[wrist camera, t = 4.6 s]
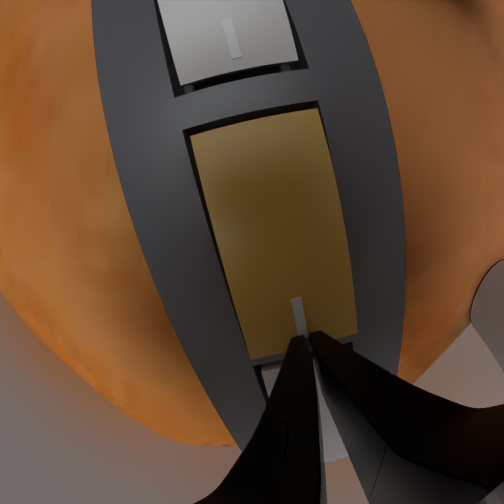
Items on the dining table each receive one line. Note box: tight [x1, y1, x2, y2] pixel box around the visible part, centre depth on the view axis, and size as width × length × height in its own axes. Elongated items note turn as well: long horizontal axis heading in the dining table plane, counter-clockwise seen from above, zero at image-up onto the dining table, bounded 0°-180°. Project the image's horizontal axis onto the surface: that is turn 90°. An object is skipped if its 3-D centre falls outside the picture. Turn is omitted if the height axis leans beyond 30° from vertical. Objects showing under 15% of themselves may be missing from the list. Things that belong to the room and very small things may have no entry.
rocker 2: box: [190, 108, 358, 359], centre depth 9 cm, size 4×7×2 cm, turn 14°
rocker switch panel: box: [91, 0, 406, 452], centre depth 11 cm, size 9×28×5 cm, turn 14°
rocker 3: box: [261, 360, 349, 463], centre depth 12 cm, size 4×7×2 cm, turn 14°
